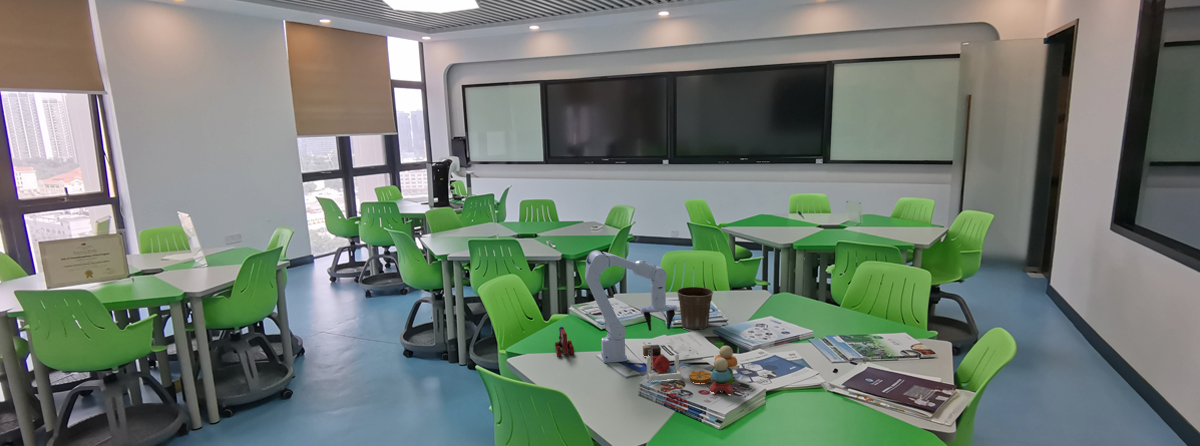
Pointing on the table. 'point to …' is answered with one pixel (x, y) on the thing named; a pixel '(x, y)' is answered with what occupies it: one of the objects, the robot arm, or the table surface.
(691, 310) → the plant pot
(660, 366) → the onion
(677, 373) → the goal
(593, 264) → the robot arm
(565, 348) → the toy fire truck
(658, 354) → the rod
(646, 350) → the tan rectangular collar
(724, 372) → the wooden toy figures
